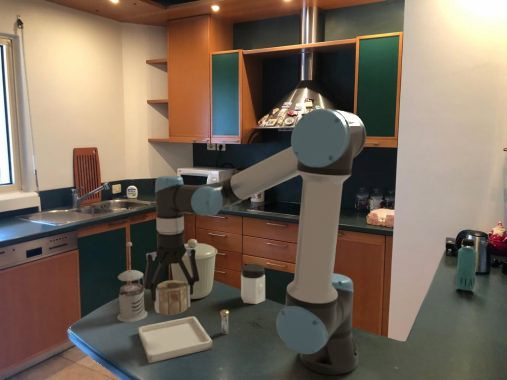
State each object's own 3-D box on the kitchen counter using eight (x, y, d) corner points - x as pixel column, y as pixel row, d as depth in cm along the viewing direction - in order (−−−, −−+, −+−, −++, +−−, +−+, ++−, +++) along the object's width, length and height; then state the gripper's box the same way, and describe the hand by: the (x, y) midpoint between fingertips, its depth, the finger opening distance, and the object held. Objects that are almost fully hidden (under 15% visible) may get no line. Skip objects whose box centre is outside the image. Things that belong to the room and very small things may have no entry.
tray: (212, 348, 114) (212, 341, 113) (149, 363, 106) (148, 356, 106) (194, 321, 130) (194, 316, 129) (138, 333, 122) (138, 327, 122)
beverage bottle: (456, 293, 152) (460, 241, 149) (453, 286, 158) (457, 236, 155) (476, 295, 150) (480, 242, 147) (472, 288, 156) (476, 237, 153)
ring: (184, 301, 122) (183, 278, 121) (189, 314, 113) (189, 290, 112) (156, 304, 119) (156, 282, 118) (160, 318, 111) (159, 294, 110)
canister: (160, 293, 153) (158, 238, 150) (201, 281, 165) (200, 231, 162) (185, 308, 140) (183, 249, 137) (227, 295, 151) (226, 240, 148)
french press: (110, 320, 131) (106, 245, 128) (129, 305, 142) (126, 236, 139) (138, 323, 129) (134, 247, 125) (155, 308, 140) (152, 237, 136)
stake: (230, 333, 122) (230, 312, 121) (222, 335, 121) (222, 314, 120) (227, 330, 124) (227, 309, 123) (219, 331, 123) (219, 310, 122)
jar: (251, 306, 141) (251, 273, 139) (236, 299, 147) (236, 267, 145) (269, 299, 147) (269, 267, 145) (254, 292, 153) (254, 262, 151)
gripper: (202, 224, 121) (203, 297, 124) (129, 231, 112) (133, 309, 116) (210, 230, 114) (211, 306, 118) (133, 238, 106) (137, 320, 109)
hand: (172, 308), depth 117 cm, fingers closed on ring, 8 cm apart
